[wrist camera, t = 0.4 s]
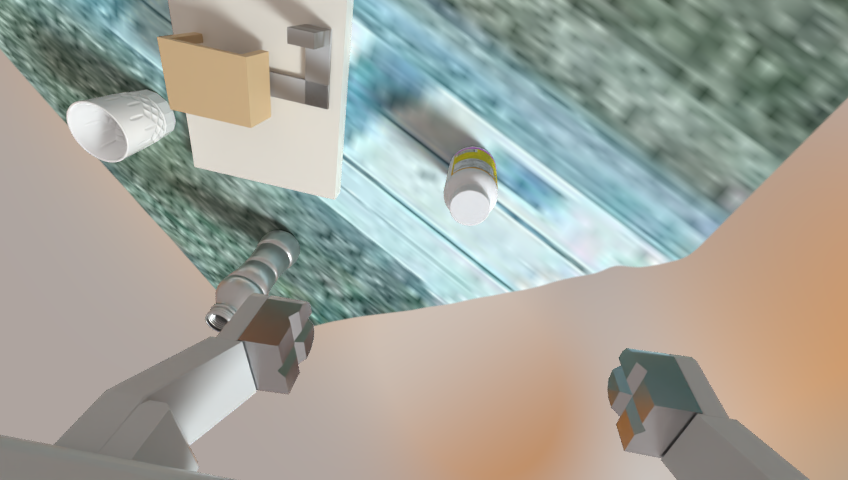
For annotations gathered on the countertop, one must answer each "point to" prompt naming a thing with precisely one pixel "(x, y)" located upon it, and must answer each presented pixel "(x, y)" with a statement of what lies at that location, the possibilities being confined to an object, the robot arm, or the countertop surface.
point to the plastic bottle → (253, 276)
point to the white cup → (120, 123)
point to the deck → (257, 89)
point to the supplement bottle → (471, 185)
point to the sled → (307, 68)
